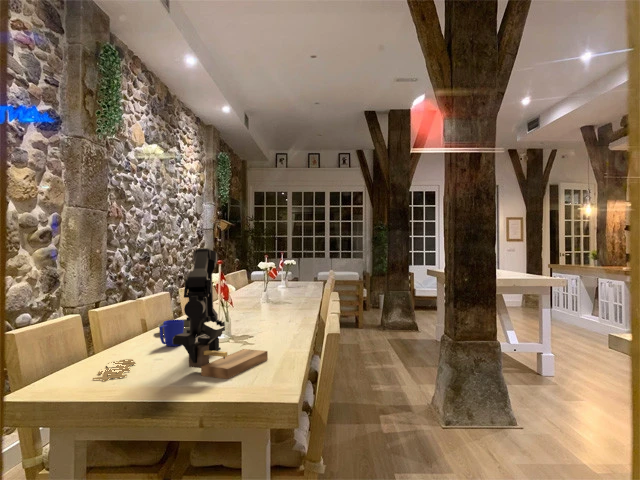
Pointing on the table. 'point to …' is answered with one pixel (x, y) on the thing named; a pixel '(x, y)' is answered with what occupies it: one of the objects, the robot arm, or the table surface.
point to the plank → (234, 363)
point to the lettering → (113, 374)
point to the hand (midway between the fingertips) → (199, 361)
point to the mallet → (205, 356)
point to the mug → (171, 331)
